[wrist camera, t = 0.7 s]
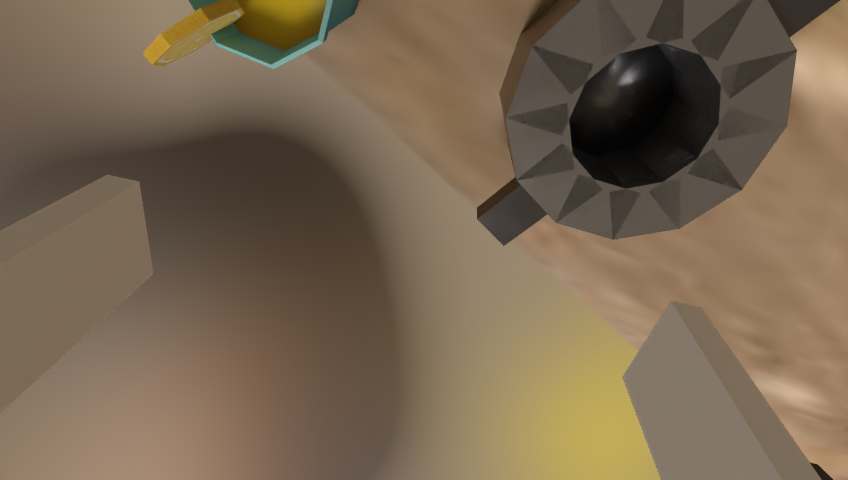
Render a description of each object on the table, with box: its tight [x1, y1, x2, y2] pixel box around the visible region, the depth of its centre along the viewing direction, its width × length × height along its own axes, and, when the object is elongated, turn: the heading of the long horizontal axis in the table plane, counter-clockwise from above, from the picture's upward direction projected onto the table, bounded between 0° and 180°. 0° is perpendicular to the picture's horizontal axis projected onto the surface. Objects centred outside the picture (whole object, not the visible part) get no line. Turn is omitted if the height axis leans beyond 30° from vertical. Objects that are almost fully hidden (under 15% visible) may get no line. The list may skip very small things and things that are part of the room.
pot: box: [477, 0, 840, 245], centre depth 28 cm, size 23×15×7 cm, turn 135°
